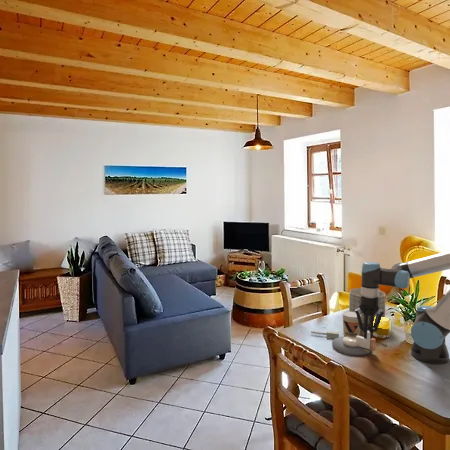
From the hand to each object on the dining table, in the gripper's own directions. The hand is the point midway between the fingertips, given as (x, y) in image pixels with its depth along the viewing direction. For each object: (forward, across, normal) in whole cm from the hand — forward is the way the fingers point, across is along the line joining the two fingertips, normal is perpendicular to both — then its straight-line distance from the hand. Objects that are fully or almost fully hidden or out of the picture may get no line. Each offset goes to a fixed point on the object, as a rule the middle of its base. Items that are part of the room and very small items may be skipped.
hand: (367, 345), depth 165 cm
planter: (+5, -11, -40) cm, 41 cm away
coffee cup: (+5, +2, -20) cm, 21 cm away
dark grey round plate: (+5, +5, -7) cm, 10 cm away
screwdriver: (+5, +15, -19) cm, 25 cm away
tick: (+3, 0, 0) cm, 3 cm away
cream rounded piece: (+3, +2, -5) cm, 6 cm away
